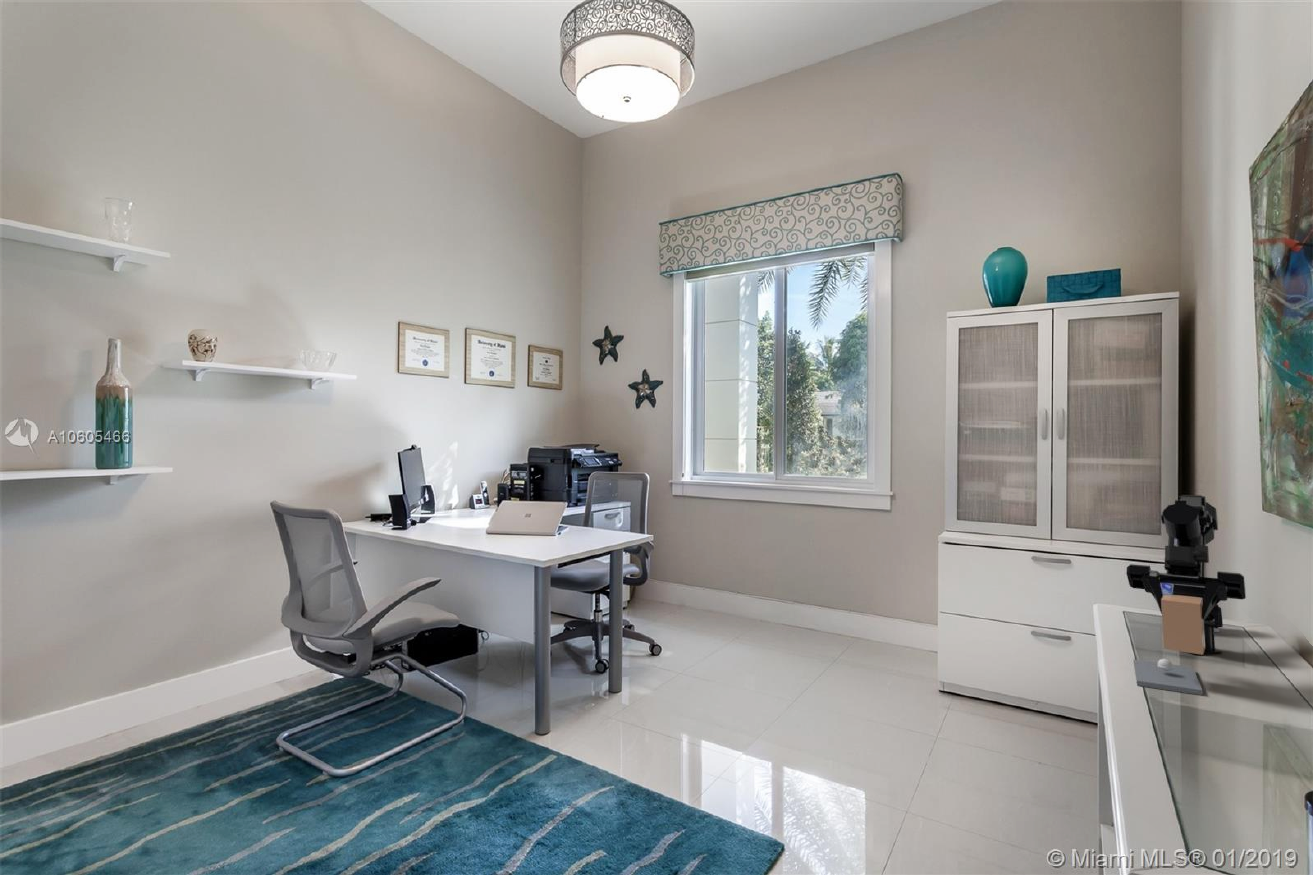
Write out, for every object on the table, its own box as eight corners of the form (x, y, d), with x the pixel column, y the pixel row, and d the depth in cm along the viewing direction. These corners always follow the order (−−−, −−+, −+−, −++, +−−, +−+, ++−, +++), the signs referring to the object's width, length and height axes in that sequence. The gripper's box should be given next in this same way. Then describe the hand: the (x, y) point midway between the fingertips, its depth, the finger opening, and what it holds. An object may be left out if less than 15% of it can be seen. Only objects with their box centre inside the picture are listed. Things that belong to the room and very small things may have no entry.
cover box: (1167, 641, 130) (1164, 593, 130) (1205, 646, 126) (1202, 597, 126) (1163, 648, 126) (1161, 599, 126) (1202, 654, 122) (1200, 604, 122)
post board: (1133, 663, 136) (1132, 645, 136) (1193, 671, 131) (1192, 652, 131) (1137, 685, 125) (1136, 665, 125) (1202, 695, 119) (1201, 674, 119)
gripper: (1125, 527, 136) (1119, 587, 128) (1241, 533, 123) (1242, 600, 115) (1133, 557, 142) (1127, 616, 134) (1245, 566, 128) (1246, 632, 121)
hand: (1182, 615), depth 126 cm, fingers closed on cover box, 6 cm apart
